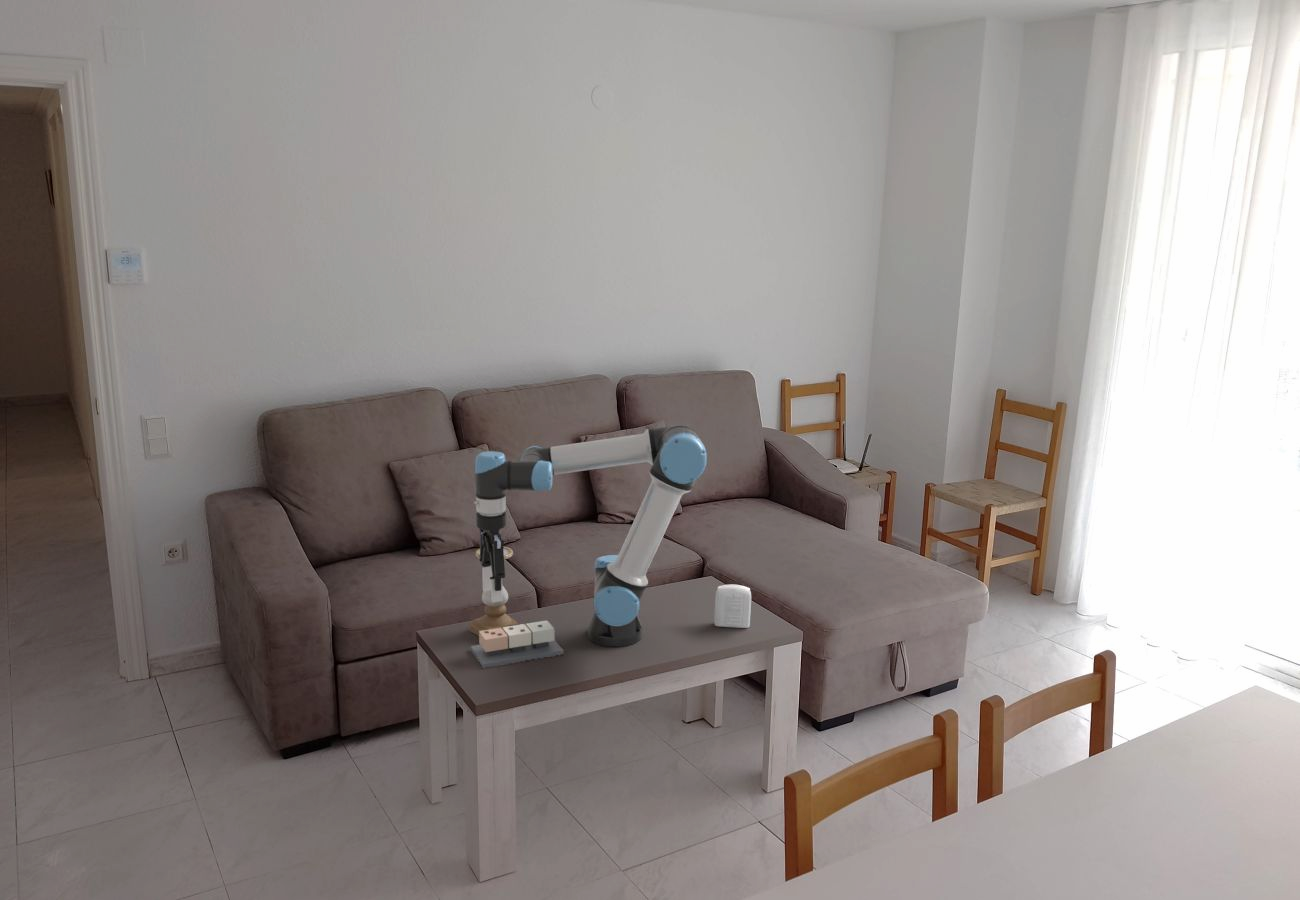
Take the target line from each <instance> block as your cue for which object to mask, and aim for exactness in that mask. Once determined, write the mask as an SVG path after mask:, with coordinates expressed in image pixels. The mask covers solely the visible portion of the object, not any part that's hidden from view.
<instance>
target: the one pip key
mask: <svg viewBox="0 0 1300 900" xmlns="http://www.w3.org/2000/svg"><path fill="white" fill-rule="evenodd" d="M525 626H526V627H527V628H528V629H529V630H530V631H531V642H532V644H538V643H544V642H550V641H554V640H555V627H553V625H552V624H551V623H550V622H549V621H548V620H541V621H535V622H530V623H529V622H528V623H525Z"/></svg>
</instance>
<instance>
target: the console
mask: <svg viewBox="0 0 1300 900" xmlns="http://www.w3.org/2000/svg"><path fill="white" fill-rule="evenodd" d="M471 650H472V651H471ZM470 651H471V653H472V654H473V653H474V654H473V655H474V657H475V656H476V657H475V658H476V660H477V659H478V660H477V661H478V663H479V662H480V663H479V665H480V666H481V665H482V666H481V668H482V669H487V668H486V667H489V668H492V667H491V666H494V667H498V666H497V665H500V666H503V665H502V664H506V665H510V664H509V663H512V664H514V663H513V662H518V661H523V660H524V661H523V662H526V661H525V660H529V661H531V660H530V659H535V660H538V659H537V658H541V659H545V658H544V657H547V658H551V656H552V657H556V655H558V656H561V654H565V653H564V651H565V650H564V649H563V648H562V646H560V644H559V643H558V642H557V641H556V640H555V639H554V641H550V642H544V643H538V644H532V642H531V645H526V646H520V647H514V648H509V647H508V649H502V650H496V651H490V652H485V651H484V649H483V648H482V646H481V645H480V644H477V645H471V646H470ZM518 663H519V662H518Z"/></svg>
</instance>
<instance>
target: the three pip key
mask: <svg viewBox="0 0 1300 900" xmlns="http://www.w3.org/2000/svg"><path fill="white" fill-rule="evenodd" d="M478 643H479V644H478V645H481V646H482V648H483V649H484V651H485V652H490V651H496V650H502V649H508V636H507V635H506V633H505V632H504V631H503V630H502V628H495V629H489V630H483V631H479V637H478Z"/></svg>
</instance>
